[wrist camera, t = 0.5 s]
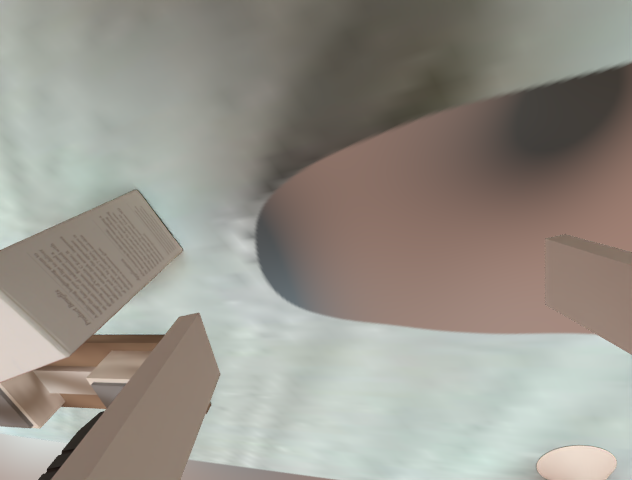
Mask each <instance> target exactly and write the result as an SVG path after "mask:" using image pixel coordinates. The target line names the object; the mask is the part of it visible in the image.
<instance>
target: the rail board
mask: <svg viewBox="0 0 632 480" xmlns="http://www.w3.org/2000/svg"><path fill="white" fill-rule="evenodd" d="M163 337H164V335H92V336H91V337H90V338H89V339H88V340H87V341H86V342H85V343H84V344H83V345H82V346H81V347H80V348H78V349H77V350H76V351H75V352H74V353H73V354H72V355H71V356H70V357H68V358H65V359H62V360H59V361H57V362H54V363H51V364H49V365H46V366H43V367H41V368H38V369H35V370H33V371H30V372H28V373H25V374H22V375H20V376H17V377H14V378H12V379H9V380H7V381H4V382H1V383H0V426H5V427H20V428H41V427H42V426H43V425H44V424H45V423H46V422H47V421H48V420H49V419H50V417H51V416H52V415H53V414H54V413H55V412H56V411H57V410H58V409H59V408H60V407H79V408H99V409H107V408H108V406H109V405H110V404H111V403H112V401H113V400H114V399H115V398H116V396H117V395H118V394H119V393H120V391H121V390H122V389H123V387H124V386H125V385H126V384H127V382H128V381H129V380H130V379H131V377H132V376H133V375H134V373H135V372H136V371H137V370H138V368H139V367H140V366H141V365H142V363H143V362H144V361H145V359H146V358H147V357H148V356H149V354H150V353H151V352H152V351H153V349H154V348H155V347H156V346H157V344H158V343H159V342H160V340H161V339H162V338H163ZM210 406H211V403H209V406H208V408H207V411H206V413H205V414H207V412H208V410H209V408H210Z"/></svg>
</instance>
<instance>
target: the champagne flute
mask: <svg viewBox="0 0 632 480" xmlns="http://www.w3.org/2000/svg"><path fill="white" fill-rule="evenodd" d="M616 465H617V460H616V458H615V457H614V456H613V455H612V454H611V453H610V452H608V451H606V450H604V449H601V448H597V447H593V446H568V447H563V448H559V449H556V450H553V451H550V452H548V453H546V454H545V455H544V456H542V457H541V458H540V459H539V461H538V463H537V471H538V472H539V474H540V475H542V476H543V477H544V478H546V479H548V480H606V479H607V478H608V476H609V475H610V474H611V473H612V472H613V471H614V470H615V468H616Z"/></svg>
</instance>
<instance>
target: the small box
mask: <svg viewBox="0 0 632 480" xmlns="http://www.w3.org/2000/svg"><path fill="white" fill-rule="evenodd" d="M181 252H182V248H181V247H180V245H179V244H178V243H177V242H176V240H175V239H174V238H173V236H172V235H171V234H170V233H169V231H168V230H167V229H166V227H165V226H164V225H163V223H162V222H161V221H160V219H159V218H158V217H157V215H156V214H155V213H154V211H153V210H152V209H151V207H150V206H149V205H148V203H147V202H146V201H145V199H144V198H143V197H142V195H141V194H140V193H139V191H138V190H133V191H131V192H129V193H127V194H124V195H122V196H120V197H118V198H115V199H113V200H111V201H109V202H106V203H104V204H102V205H100V206H98V207H96V208H93V209H91V210H89V211H87V212H84V213H82V214H80V215H78V216H75V217H73V218H71V219H69V220H66V221H64V222H62V223H60V224H58V225H55V226H53V227H51V228H49V229H46V230H44V231H42V232H40V233H37V234H35V235H33V236H31V237H29V238H26V239H24V240H22V241H20V242H17V243H15V244H13V245H10V246H8V247H6V248H4V249H2V250H0V383H1V382H4V381H7V380H9V379H12V378H14V377H17V376H20V375H22V374H25V373H28V372H30V371H33V370H35V369H38V368H41V367H43V366H46V365H49V364H51V363H54V362H57V361H59V360H62V359H65V358H68V357H70V356H71V355H72V354H73V353H74V352H75V351H76V350H77V349H78V348H80V347H81V346H82V345H83V344H84V343H85V342H86V341H87V340H88V339H89V338H90V337H91V336H92V335H93V334H94V333H95V332H97V331H98V330H99V329H100V328H101V327H102V326H103V325H104V324H105V323H106V322H107V321H108V320H109V319H110V318H112V317H113V316H114V315H115V314H116V313H117V312H118V311H119V310H120V309H121V308H122V307H123V306H124V305H125V304H126V303H127V302H129V301H130V299H131V298H132V297H133V296H135V295H136V294H137V293H138V292H139V291H140V290H141V289H142V288H143V287H144V286H146V285H147V284H148V283H149V282H150V281H151V280H152V279H153V278H154V277H155V276H156V275H157V274H158V273H159V272H161V271H162V270H163V269H164V268H165V267H166V266H167V265H168V264H169V263H170V262H171V261H172V260H173V259H174V258H175V257H177V256H178V255H179V254H180V253H181Z"/></svg>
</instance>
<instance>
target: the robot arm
mask: <svg viewBox="0 0 632 480" xmlns="http://www.w3.org/2000/svg"><path fill="white" fill-rule="evenodd" d="M545 305H547V306H548V307H550V308H552V309H553V310H555V311H557V312H559V313H560V314H562V315H564V316H566V317H568V318H569V319H571V320H573V321H574V322H576V323H578V324H580V325H581V326H583V327H585V328H586V329H588V330H590V331H592V332H593V333H595V334H597V335H599V336H600V337H602V338H604V339H606V340H607V341H609V342H611V343H612V344H614V345H616V346H618V347H619V348H621V349H623V350H625V351H626V352H628V353H630V354H632V252H629V251H625V250H622V249H618V248H614V247H610V246H607V245H603V244H599V243H595V242H592V241H588V240H584V239H580V238H577V237H573V236H569V235H560V236H556V237H551V238H546V239H545ZM219 376H220V372H219V369H218V366H217V363H216V360H215V357H214V354H213V351H212V348H211V346H210V343H209V340H208V337H207V334H206V331H205V328H204V325H203V322H202V319H201V316H200V313H195V314H190V315H186V316H181V317H179V318H178V319H177V320H176V321H175V323H174V324H173V325H172V326H171V328H170V329H169V330H168V332H167V333H166V334H165V335H164V337H163V338H162V339H161V340H160V342H159V343H158V344H157V346H156V347H155V348H154V349H153V351H152V352H151V353H150V354H149V356H148V357H147V358H146V359H145V361H144V362H143V363H142V365H141V366H140V367H139V368H138V370H137V371H136V372H135V373H134V375H133V376H132V377H131V379H130V380H129V381H128V382H127V384H126V385H125V386H124V387H123V389H122V390H121V391H120V393H119V394H118V395H117V396H116V398H115V399H114V400H113V401H112V403H111V404H110V405H109V406H108V408H107V409H106V410H105V411H104V412H100V413H99V414H98V415H96V416H95V417H94V418H93V419H92V420H91V421H89V422H88V423H87V424H86V425H85V426H84V427H82V428H81V429H80V430H79V431H78V432H77V433H76V435H75V436H74V437H73V438H72V439H71V441H70V442H69V443H68V444H67V445H66V447H65V448H64V449H63V450H62V454H61V455H58V456H57V457H56V459H55V460H54V461H53V462H52V464H51V465H50V466H49V467H48V468H47V472H46V473H45V474H43V475H42V476H41V477H40V478H39V479H38V480H181V477H182V474H183V472H184V469H185V466H186V464H187V461H188V459H189V456H190V453H191V451H192V448H193V445H194V443H195V440H196V437H197V435H198V432H199V429H200V427H201V424H202V421H203V419H204V416H205V413H206V411H207V408H208V406H209V403H210V400H211V398H212V395H213V392H214V390H215V387H216V384H217V382H218V379H219Z"/></svg>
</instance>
